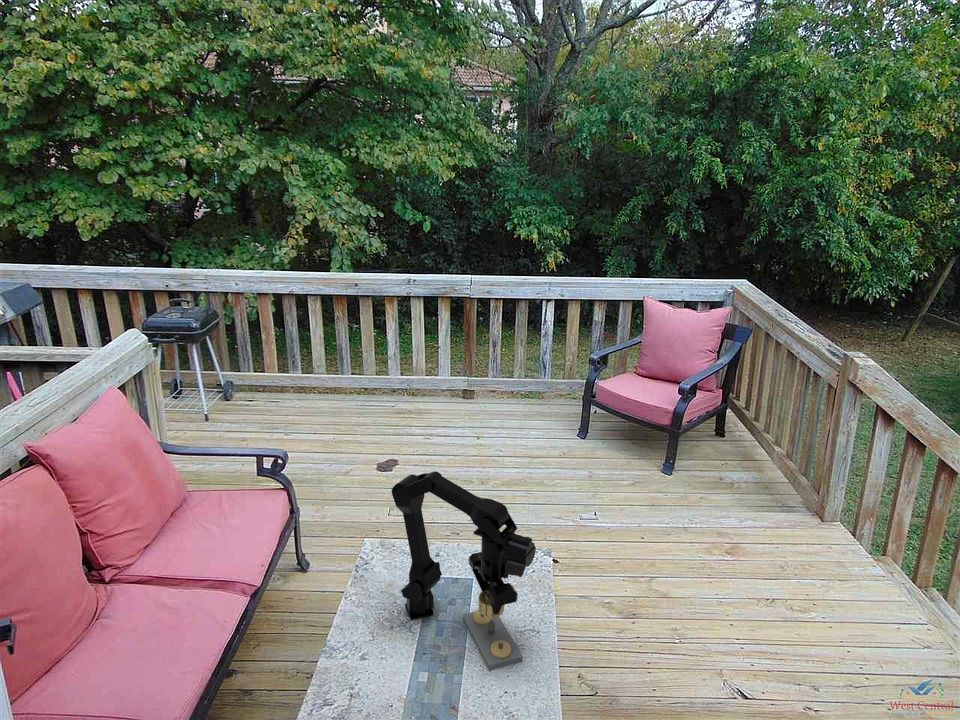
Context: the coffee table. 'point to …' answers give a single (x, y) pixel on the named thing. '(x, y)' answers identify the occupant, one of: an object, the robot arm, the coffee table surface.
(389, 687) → the coffee table surface
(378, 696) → the coffee table surface
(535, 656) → the coffee table surface
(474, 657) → the coffee table surface
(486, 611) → the brass gear
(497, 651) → the gear board
